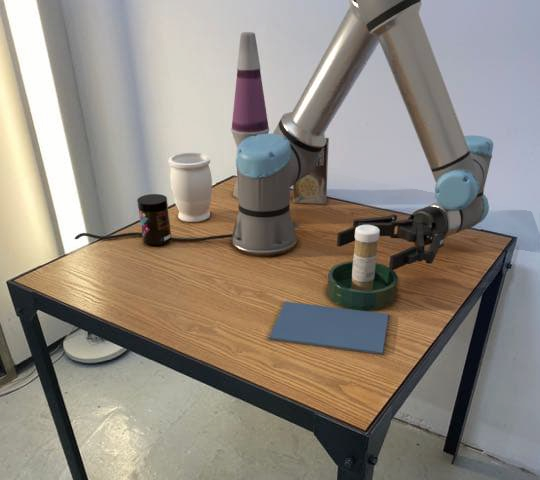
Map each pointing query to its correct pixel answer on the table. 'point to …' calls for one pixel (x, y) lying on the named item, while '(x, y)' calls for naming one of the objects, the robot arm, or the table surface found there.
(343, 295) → the bowl
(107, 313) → the table surface
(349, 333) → the mat
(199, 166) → the jar
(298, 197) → the coffee box
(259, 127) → the lamp
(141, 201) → the supplement container
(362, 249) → the sprinkles bottle
